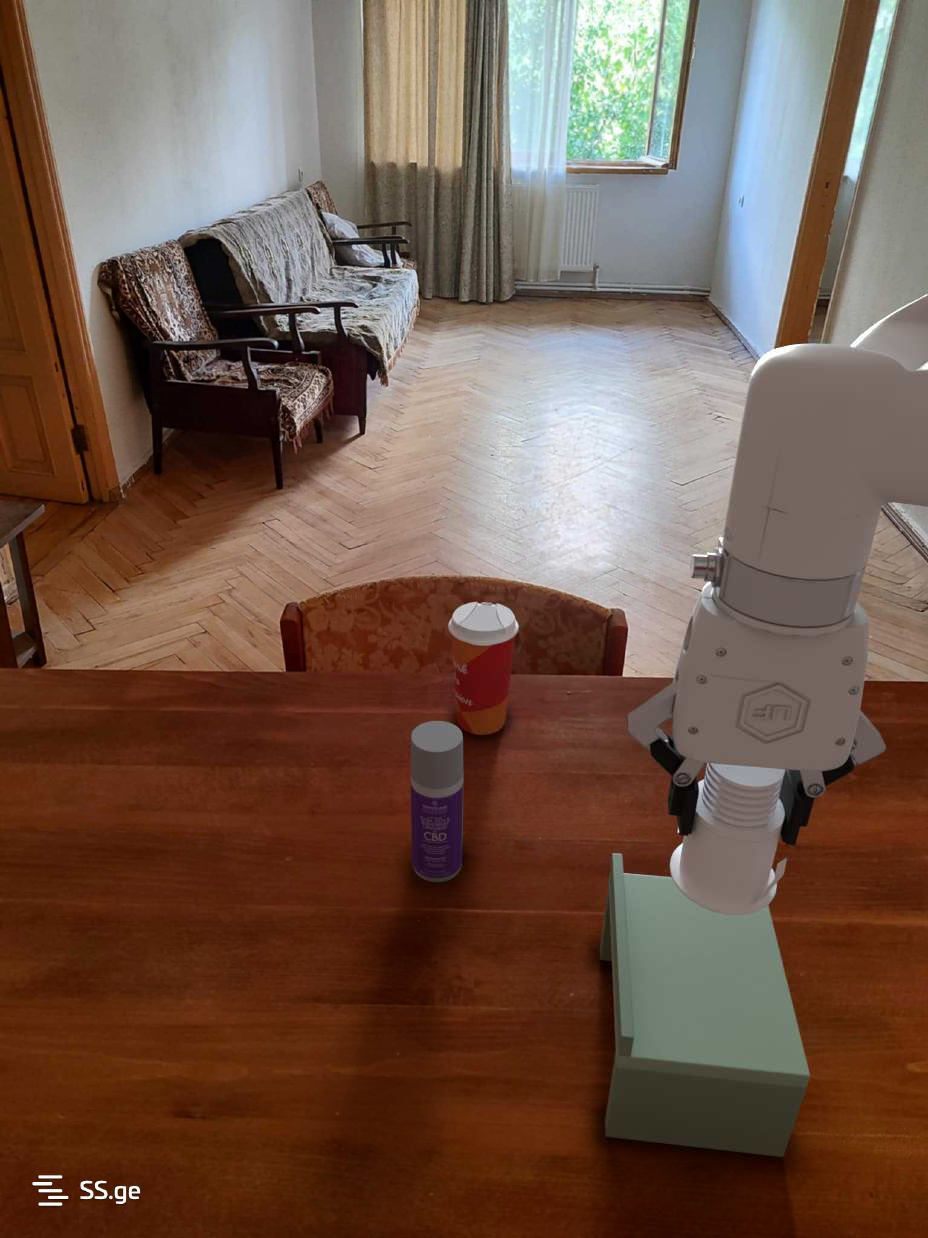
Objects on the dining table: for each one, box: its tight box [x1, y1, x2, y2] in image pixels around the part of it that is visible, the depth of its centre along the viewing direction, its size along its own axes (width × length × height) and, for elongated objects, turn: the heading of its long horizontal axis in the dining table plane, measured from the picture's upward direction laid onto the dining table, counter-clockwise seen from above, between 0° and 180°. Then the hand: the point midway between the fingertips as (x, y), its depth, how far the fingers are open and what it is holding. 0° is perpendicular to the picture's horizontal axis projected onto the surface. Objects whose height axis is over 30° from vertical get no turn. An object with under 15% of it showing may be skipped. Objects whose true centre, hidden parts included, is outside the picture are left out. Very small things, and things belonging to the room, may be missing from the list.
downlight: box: [669, 763, 788, 915], centre depth 58 cm, size 8×7×10 cm
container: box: [410, 720, 464, 883], centre depth 79 cm, size 5×5×15 cm
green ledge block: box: [599, 853, 811, 1158], centre depth 65 cm, size 12×16×11 cm
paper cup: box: [447, 601, 519, 736], centre depth 99 cm, size 8×8×14 cm
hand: (733, 823), depth 58 cm, fingers closed on downlight, 5 cm apart
